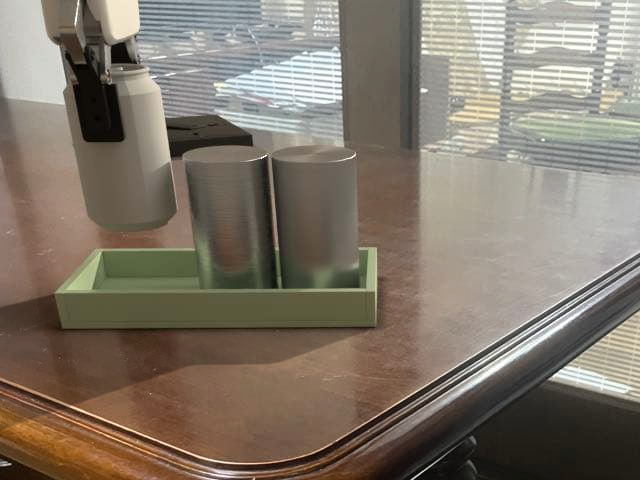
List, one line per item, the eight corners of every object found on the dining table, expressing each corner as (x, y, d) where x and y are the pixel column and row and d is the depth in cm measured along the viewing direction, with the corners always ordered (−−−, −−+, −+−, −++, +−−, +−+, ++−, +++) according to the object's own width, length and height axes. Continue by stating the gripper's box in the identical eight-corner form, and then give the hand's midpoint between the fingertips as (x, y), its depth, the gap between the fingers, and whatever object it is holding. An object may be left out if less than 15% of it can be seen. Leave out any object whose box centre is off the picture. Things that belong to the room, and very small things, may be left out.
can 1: (158, 207, 80) (135, 58, 73) (194, 225, 75) (172, 66, 68) (77, 220, 76) (44, 64, 69) (108, 240, 71) (77, 73, 64)
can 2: (195, 309, 76) (174, 162, 69) (208, 283, 82) (190, 145, 75) (275, 309, 76) (262, 162, 69) (283, 283, 82) (272, 145, 75)
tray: (62, 329, 74) (53, 293, 72) (101, 280, 84) (95, 248, 83) (376, 327, 74) (375, 291, 73) (377, 279, 85) (376, 247, 83)
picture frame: (126, 135, 147) (152, 158, 131) (123, 116, 145) (149, 137, 130) (218, 127, 152) (253, 149, 137) (216, 109, 151) (251, 129, 135)
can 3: (278, 309, 76) (266, 162, 69) (286, 283, 82) (275, 145, 75) (359, 308, 76) (354, 162, 70) (360, 282, 82) (356, 145, 75)
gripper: (55, -134, 68) (101, 114, 78) (-32, -153, 54) (37, 154, 64) (152, -134, 68) (185, 114, 78) (90, -154, 54) (140, 153, 64)
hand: (118, 130), depth 71 cm, fingers closed on can 1, 7 cm apart
